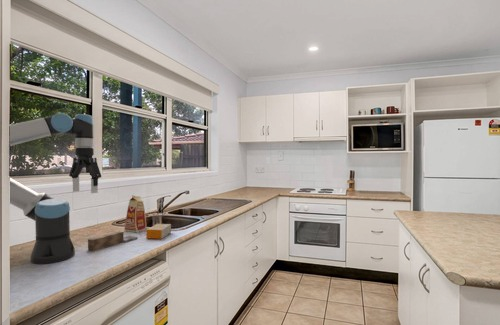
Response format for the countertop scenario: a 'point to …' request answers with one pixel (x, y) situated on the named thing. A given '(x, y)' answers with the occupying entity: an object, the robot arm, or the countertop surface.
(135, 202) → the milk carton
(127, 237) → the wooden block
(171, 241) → the countertop surface
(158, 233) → the supplement box
